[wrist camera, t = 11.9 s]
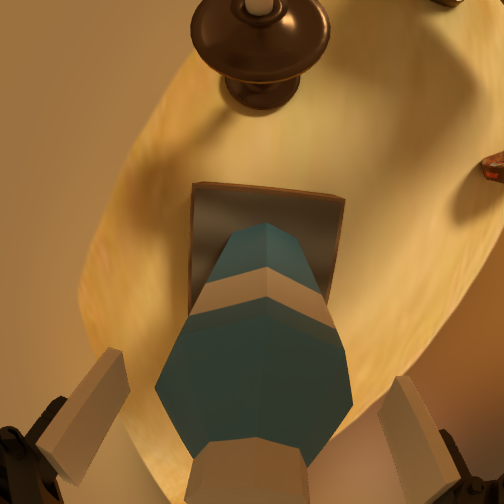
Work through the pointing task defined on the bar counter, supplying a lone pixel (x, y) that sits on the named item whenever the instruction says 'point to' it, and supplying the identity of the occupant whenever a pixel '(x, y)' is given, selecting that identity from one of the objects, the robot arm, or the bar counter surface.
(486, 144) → the bar counter surface
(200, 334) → the water bottle
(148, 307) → the bar counter surface
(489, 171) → the tin
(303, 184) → the bar counter surface
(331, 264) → the stand
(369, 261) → the bar counter surface
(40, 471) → the robot arm
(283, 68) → the candlestick
